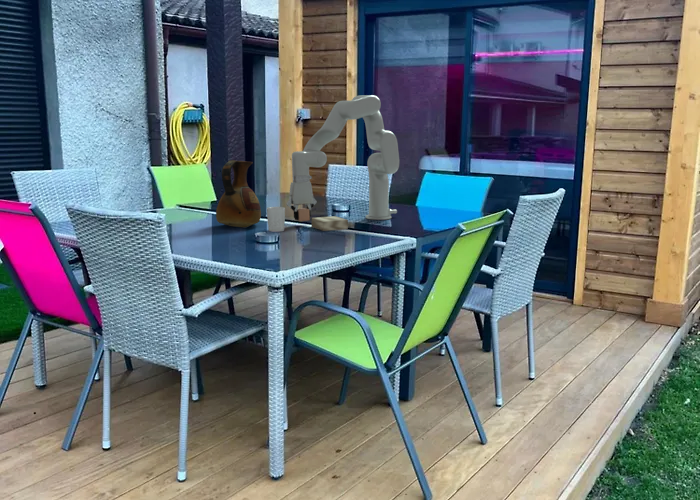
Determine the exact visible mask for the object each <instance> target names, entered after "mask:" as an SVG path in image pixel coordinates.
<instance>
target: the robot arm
mask: <svg viewBox="0 0 700 500" xmlns="http://www.w3.org/2000/svg"><path fill="white" fill-rule="evenodd" d="M381 105H382V104H381V100H380V98H379V97H378V96H377V95H375V94H374V95H373V94H371V95H370V94H369V95H367V94H366V95H365V94H364V95H355V96H354V97H352V99H351V100H340V101H337V102H336V103H335V104H334V105H333V107H332V109H331V111H330V112H329V115H328V116H327V118H326V120H325V121H324V123H323V125H322V126H321V128H319V129H318V130H317V132H315V133H314V134H313V135H312V137H310V138H309V140H308V141H307V143H306V144H305V146H304V148H303V150H302V151H300V150H298V151H293V152H292V153H291V168H292V169H291V171H292V172H291V173H292V182H290V185H289V186H290V187H289V198H288V201H287V202H286V206H287V207H288V208H290V209H291V210H292V212H293V218H294V220H295V221H297V220H299V216H298V211H297V210H298V209H299V205H305V208H306V209H309V215H310V217H311V216H312V215H311V214H312V213H311V210H312V209H313V208H314V206H315V205H316V204H317V203H318V202H317V200H316V199H315V197H314V194H313V187H312V183H311V179H313V176H312V175H310V167H311V168H321V167H323V166H325V165H326V163H327V161H328V157H327V154H326V153H325V152H324V151H321V150H322V149H323V147H324V146H325V145H327V144H328V143H330V142H332V141H334V140H336V139H337V138H338V137H339V136H340V134H341V132H342V131H343V129H344V127H345V125H346V124H347V122H348V120H352V121H353V120H358V119H361V118H362V119H363V120H364V121H363V122H364V123H365V124H364V125H365V130H366V131H365V132H366V139H367V144H368V147H369V149H371V150H373V151H379V152H375V153H372V154H370V156H368V158H367V171H368V184H369V185H368V214H366V215H365V219H367V220H375V221H377V220H378V221H380V220H385V221H386V220H390V219H392V214H397V213H398V210H397V209H391V208H389V198H390V197H389V194H390V193H389V191H390V189H389V187H390V181H389V176H388V175H392V174H395V173H396V172H398V170H399V168H400V154H399V143H398V139H397V136H396V135H395V134H394V133H393V132H392V131H390V130H385V126H384V120H383V116H382V114H381V111H380V109H381V107H382V106H381Z"/></svg>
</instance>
